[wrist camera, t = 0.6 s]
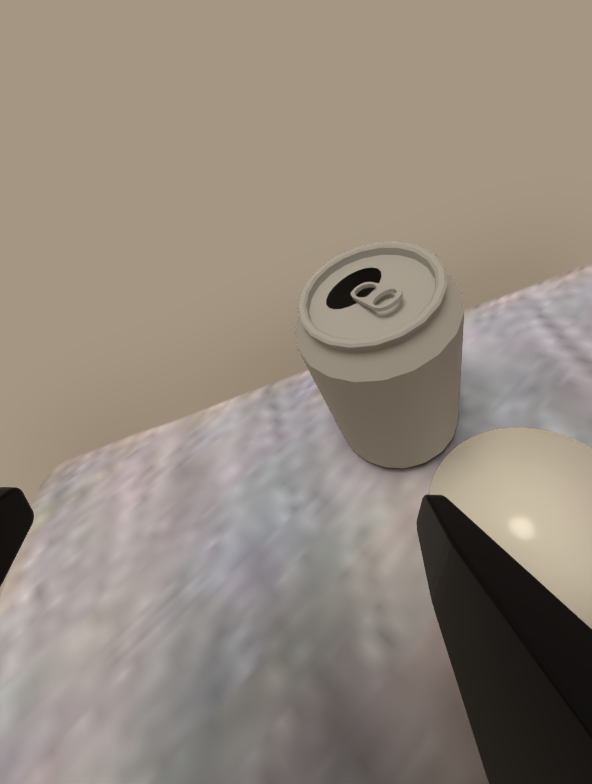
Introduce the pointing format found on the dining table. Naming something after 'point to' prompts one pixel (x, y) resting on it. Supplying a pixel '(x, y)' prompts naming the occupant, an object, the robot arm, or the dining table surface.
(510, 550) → the disc
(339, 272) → the can
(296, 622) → the dining table surface
